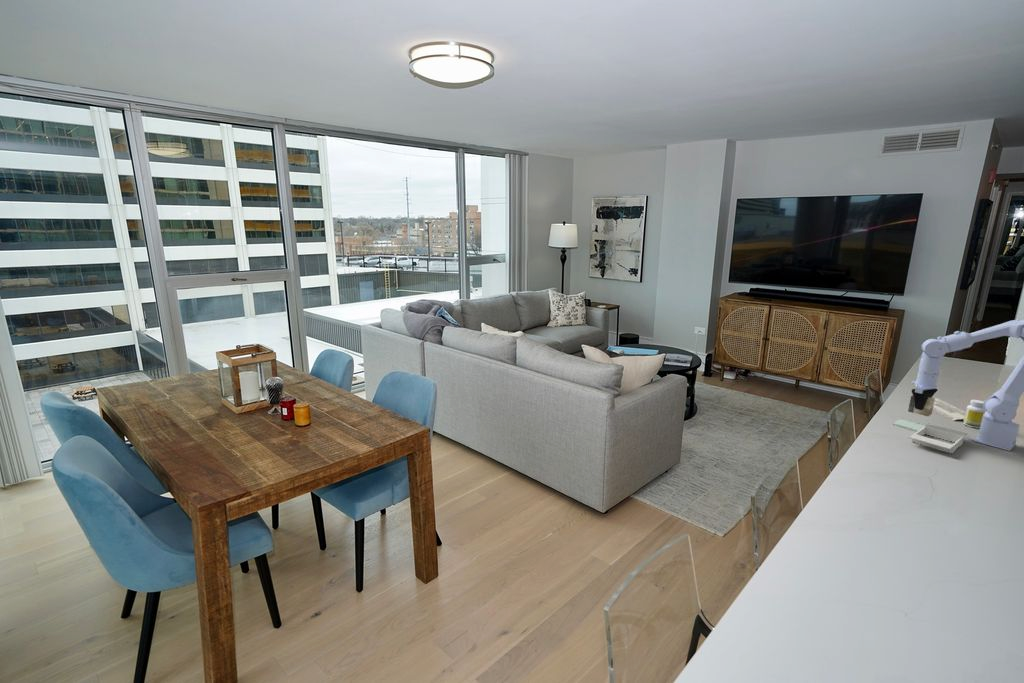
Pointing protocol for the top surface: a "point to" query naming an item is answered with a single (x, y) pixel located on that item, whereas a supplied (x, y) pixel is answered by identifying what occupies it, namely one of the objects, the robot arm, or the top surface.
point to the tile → (908, 425)
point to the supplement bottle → (974, 414)
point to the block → (926, 410)
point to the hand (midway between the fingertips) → (920, 407)
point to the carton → (940, 433)
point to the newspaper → (948, 410)
